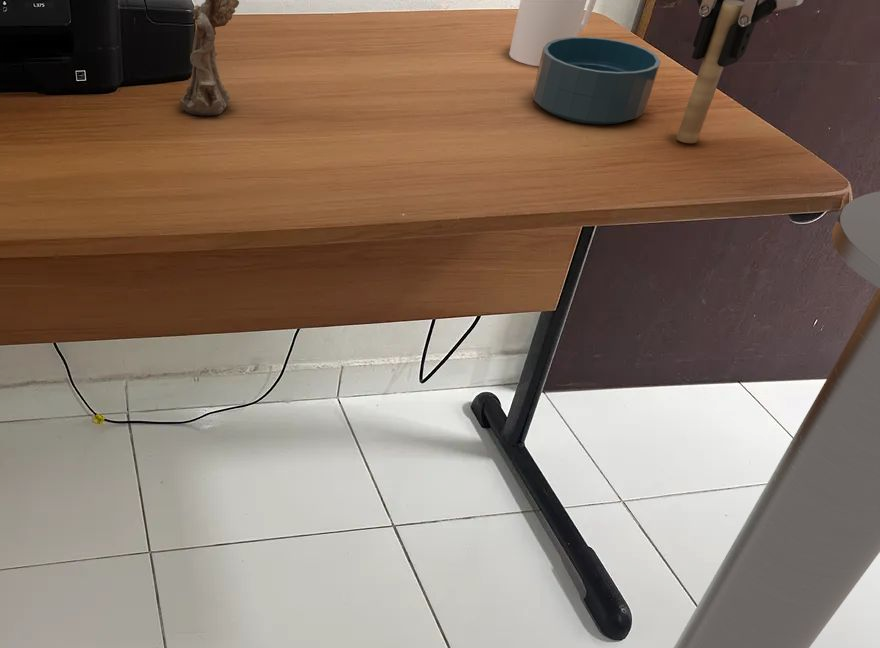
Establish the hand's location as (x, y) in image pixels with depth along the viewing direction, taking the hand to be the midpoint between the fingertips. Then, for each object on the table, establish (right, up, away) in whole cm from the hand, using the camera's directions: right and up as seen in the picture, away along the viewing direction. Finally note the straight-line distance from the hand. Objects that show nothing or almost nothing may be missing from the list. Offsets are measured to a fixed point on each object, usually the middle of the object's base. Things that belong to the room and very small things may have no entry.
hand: (714, 58), depth 95 cm
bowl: (-8, +1, +13) cm, 16 cm away
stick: (0, -6, +6) cm, 9 cm away
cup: (-8, +13, +28) cm, 32 cm away
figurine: (-54, -1, +11) cm, 55 cm away
